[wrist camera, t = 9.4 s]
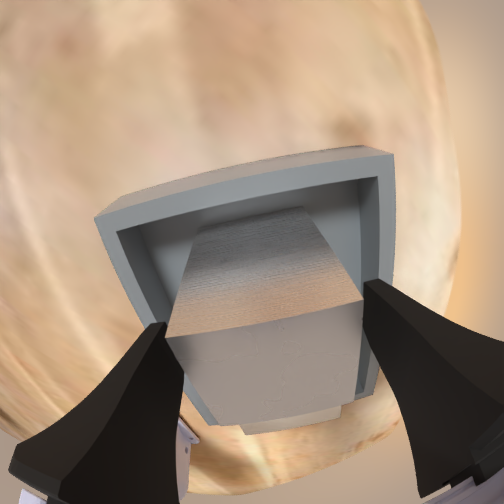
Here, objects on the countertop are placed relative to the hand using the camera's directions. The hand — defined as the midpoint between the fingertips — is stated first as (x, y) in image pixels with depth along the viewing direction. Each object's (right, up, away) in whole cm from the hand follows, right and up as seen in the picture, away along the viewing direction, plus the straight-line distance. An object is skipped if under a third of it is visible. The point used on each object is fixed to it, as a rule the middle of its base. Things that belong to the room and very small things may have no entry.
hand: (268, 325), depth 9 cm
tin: (0, +2, +4) cm, 5 cm away
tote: (0, 0, +6) cm, 6 cm away
